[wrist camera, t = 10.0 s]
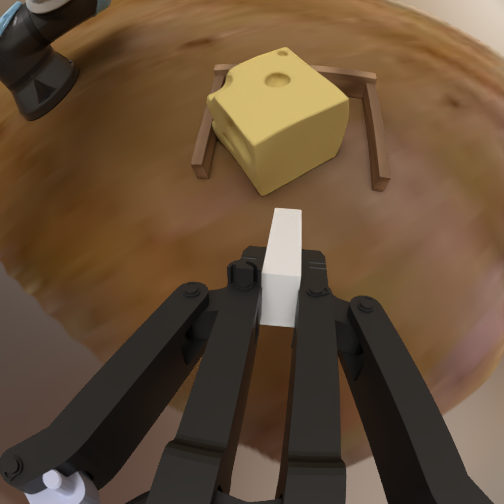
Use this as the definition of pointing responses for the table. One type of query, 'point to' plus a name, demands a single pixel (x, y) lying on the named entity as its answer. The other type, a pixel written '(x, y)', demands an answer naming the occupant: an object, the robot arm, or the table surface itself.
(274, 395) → the table surface
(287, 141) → the cheese
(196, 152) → the brown wooden u frame
